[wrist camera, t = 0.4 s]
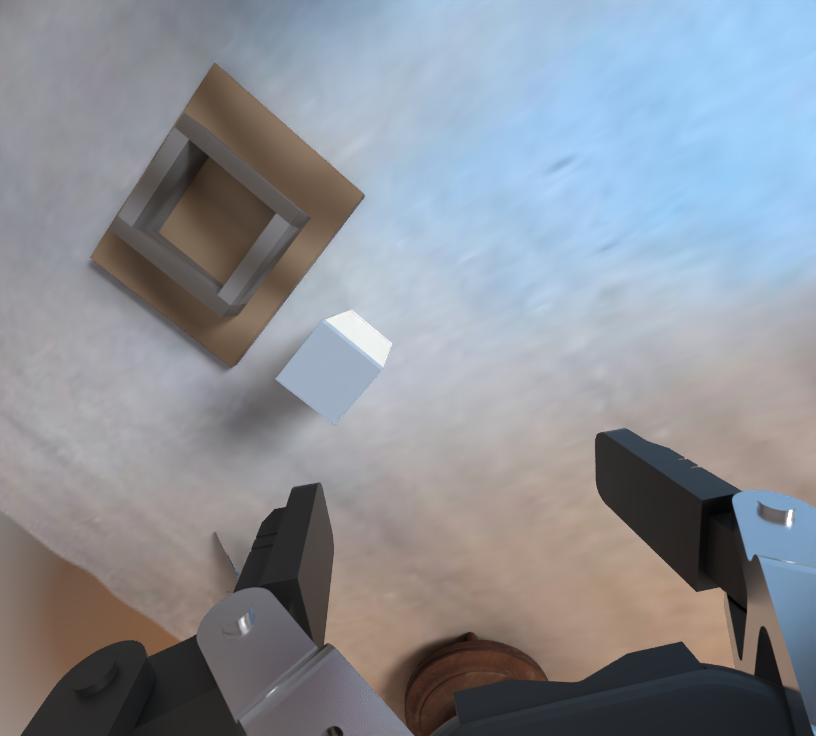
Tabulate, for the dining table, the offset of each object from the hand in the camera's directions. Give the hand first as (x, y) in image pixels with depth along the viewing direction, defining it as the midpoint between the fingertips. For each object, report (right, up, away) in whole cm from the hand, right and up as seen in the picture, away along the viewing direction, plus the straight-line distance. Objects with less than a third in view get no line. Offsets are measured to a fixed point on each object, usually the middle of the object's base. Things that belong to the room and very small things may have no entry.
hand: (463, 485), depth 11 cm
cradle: (-16, +15, +21) cm, 30 cm away
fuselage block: (-6, +5, +23) cm, 24 cm away
